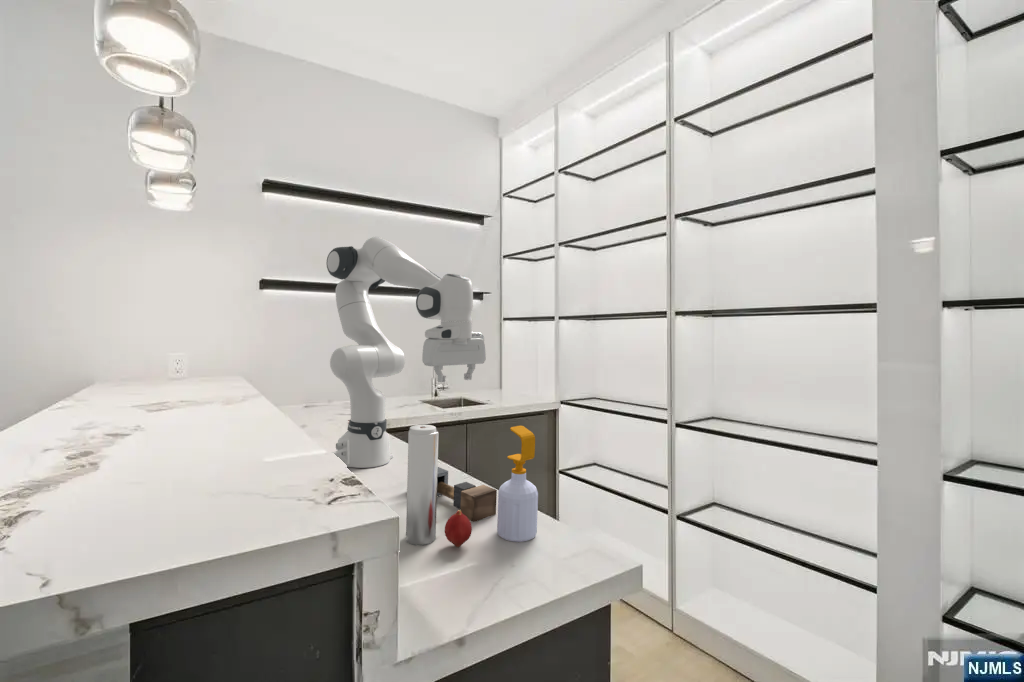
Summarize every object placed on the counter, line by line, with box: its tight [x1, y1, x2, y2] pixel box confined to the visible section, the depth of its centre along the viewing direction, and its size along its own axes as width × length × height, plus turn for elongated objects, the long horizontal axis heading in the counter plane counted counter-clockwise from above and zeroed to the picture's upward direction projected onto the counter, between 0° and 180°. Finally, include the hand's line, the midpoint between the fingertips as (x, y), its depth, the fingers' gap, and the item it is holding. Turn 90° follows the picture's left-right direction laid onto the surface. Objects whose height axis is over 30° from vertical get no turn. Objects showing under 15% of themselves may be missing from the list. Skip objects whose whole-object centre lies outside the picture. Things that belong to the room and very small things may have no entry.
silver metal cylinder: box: [405, 424, 440, 546], centre depth 105 cm, size 6×6×25 cm
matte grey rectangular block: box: [437, 466, 449, 497], centre depth 134 cm, size 9×6×6 cm
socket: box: [461, 484, 498, 523], centre depth 119 cm, size 5×7×6 cm
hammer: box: [437, 481, 477, 510], centre depth 125 cm, size 17×4×6 cm, turn 45°
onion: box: [444, 509, 473, 548], centre depth 103 cm, size 6×6×8 cm
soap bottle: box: [496, 425, 539, 543], centre depth 109 cm, size 9×9×25 cm
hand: (454, 380), depth 135 cm, fingers open, 8 cm apart
